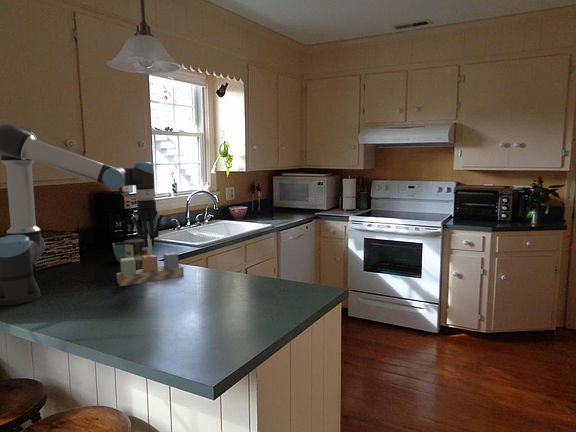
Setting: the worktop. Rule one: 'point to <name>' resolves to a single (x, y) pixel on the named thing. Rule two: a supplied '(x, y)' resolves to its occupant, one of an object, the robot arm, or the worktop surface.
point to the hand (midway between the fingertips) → (149, 254)
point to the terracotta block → (150, 263)
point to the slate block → (171, 260)
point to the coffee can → (136, 251)
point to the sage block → (128, 266)
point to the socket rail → (149, 276)
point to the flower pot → (119, 250)
